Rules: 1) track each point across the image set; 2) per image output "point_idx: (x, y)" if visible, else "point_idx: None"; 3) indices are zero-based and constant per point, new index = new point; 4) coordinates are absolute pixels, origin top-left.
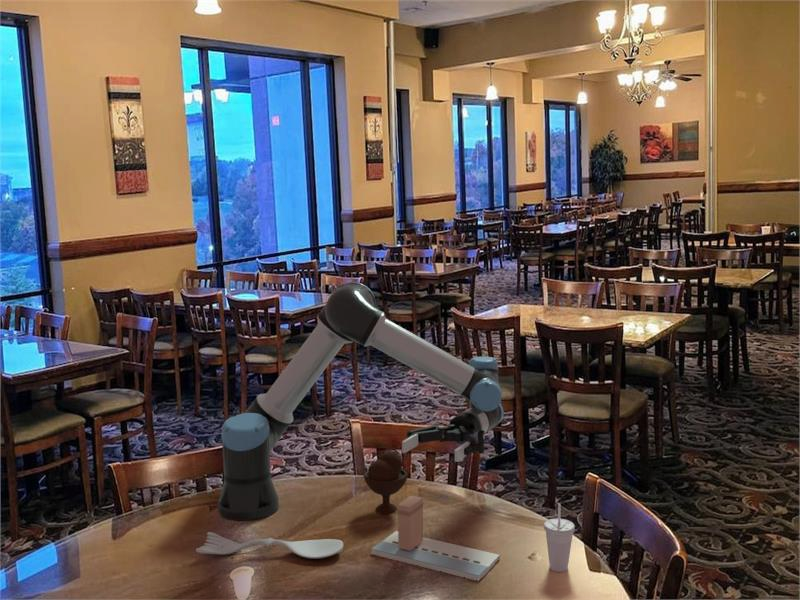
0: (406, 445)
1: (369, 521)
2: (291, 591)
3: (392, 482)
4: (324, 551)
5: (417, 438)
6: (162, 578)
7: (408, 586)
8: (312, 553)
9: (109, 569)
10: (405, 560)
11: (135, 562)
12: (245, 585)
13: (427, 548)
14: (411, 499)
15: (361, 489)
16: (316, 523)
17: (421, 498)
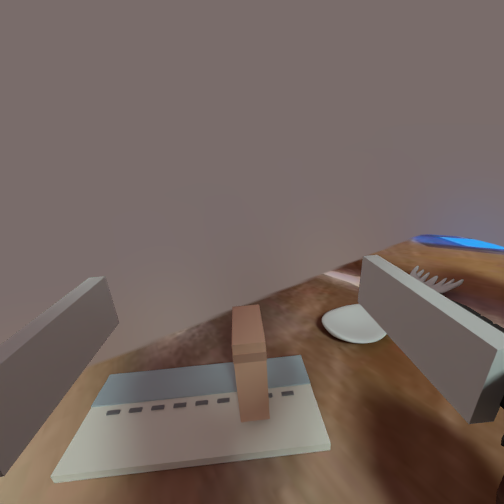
0: (368, 281)
1: (457, 485)
2: (300, 285)
3: (497, 497)
4: (344, 324)
5: (473, 367)
6: (392, 260)
7: (206, 330)
8: (350, 317)
9: (432, 253)
10: None
11: (438, 260)
12: (337, 276)
13: (221, 408)
14: (250, 329)
15: None
16: None
17: (232, 341)
